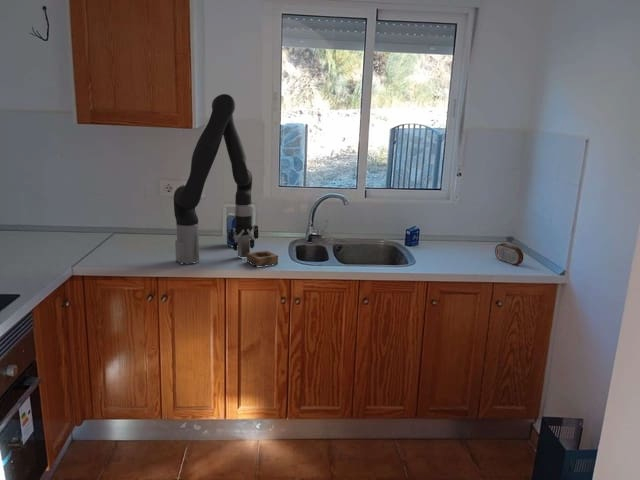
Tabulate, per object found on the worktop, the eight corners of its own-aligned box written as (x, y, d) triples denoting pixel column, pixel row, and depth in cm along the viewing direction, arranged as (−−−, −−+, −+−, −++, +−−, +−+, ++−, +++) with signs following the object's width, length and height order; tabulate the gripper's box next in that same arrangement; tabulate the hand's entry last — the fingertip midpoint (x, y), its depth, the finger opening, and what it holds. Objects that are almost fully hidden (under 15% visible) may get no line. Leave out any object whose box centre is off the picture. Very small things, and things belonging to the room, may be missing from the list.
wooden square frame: (257, 267, 231) (257, 259, 230) (246, 262, 239) (246, 253, 238) (277, 264, 237) (277, 255, 236) (266, 258, 245) (266, 250, 244)
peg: (241, 259, 243) (241, 235, 240) (237, 257, 246) (237, 233, 244) (249, 258, 245) (249, 234, 243) (245, 255, 249) (245, 232, 246)
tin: (522, 266, 246) (525, 248, 244) (518, 267, 245) (520, 249, 242) (497, 258, 259) (499, 241, 257) (492, 258, 257) (494, 241, 255)
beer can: (235, 249, 259) (235, 216, 255) (223, 246, 264) (222, 214, 260) (247, 245, 266) (247, 214, 262) (235, 242, 271) (235, 211, 267)
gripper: (232, 217, 234) (233, 253, 238) (261, 214, 242) (261, 249, 246) (225, 214, 240) (225, 249, 244) (253, 211, 248) (253, 245, 252)
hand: (243, 249), depth 245 cm, fingers open, 8 cm apart
